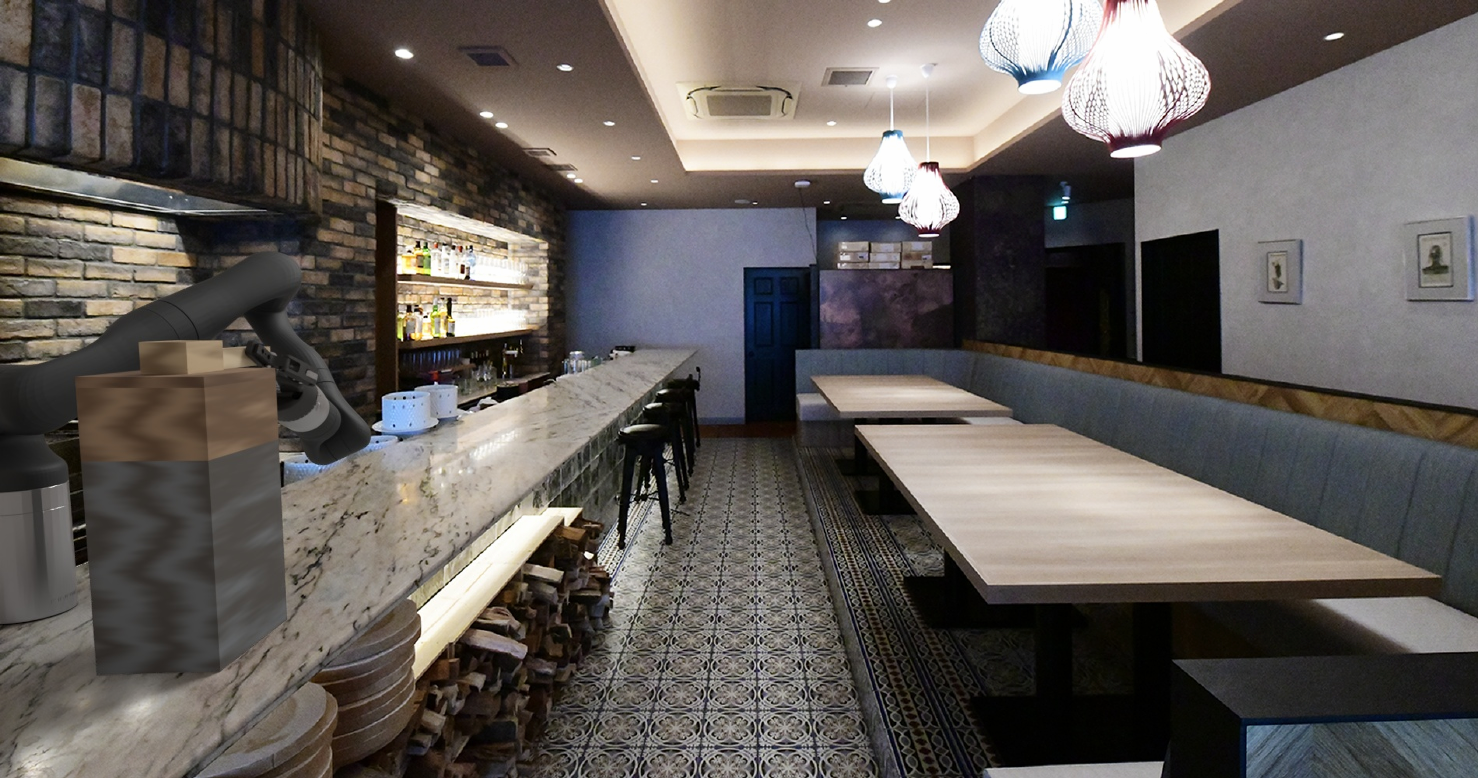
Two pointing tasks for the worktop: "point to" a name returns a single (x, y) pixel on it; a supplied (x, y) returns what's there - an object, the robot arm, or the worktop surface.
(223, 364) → the wooden key
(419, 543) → the worktop surface
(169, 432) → the grey tall block
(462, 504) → the worktop surface
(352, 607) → the worktop surface
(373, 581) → the worktop surface
